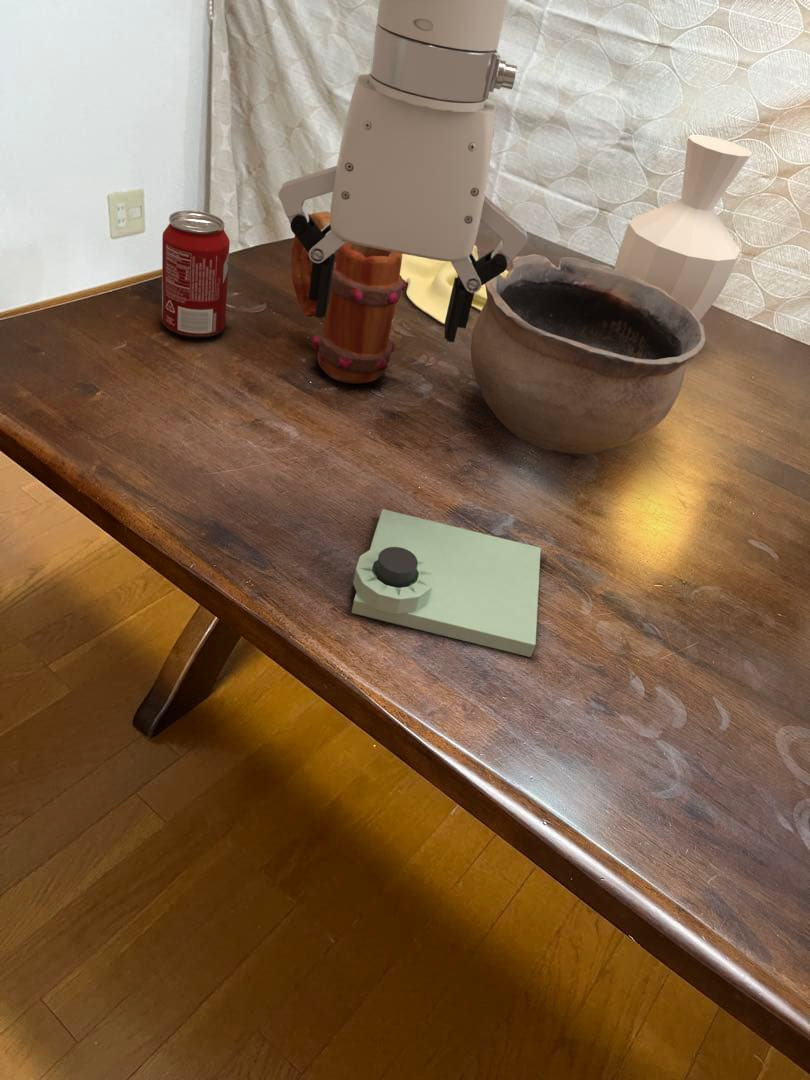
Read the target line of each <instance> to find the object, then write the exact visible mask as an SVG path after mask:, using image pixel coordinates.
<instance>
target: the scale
mask: <svg viewBox="0 0 810 1080" xmlns="http://www.w3.org/2000/svg"><path fill="white" fill-rule="evenodd" d="M389 547H400V548H404V549H407V550H409V551H410V552H412V553H413V554H414V555H415V556H416V558H417V561H418V565H417V569H416V573H415V577H414V580H413V582H412V583H411V584H410V585H409V586H407V587H402V588H396V587H392V586H388V585H385V584H383V583H382V582H381V581H379V580H378V578H377V577H376V573H375V571H376V566H377V561H378V557H379V554H380V552H381V551H382V550H384V549H386V548H389ZM541 551H542V548H541V547H539V546H535V545H532V544H527V543H524V542H523V543H522V542H520V541H519V542H518V541H515V540H510V539H506V538H502V537H498V536H494V535H490V534H486V533H482V532H478V531H473V530H470V529H466V528H462V527H458V526H453V525H450V524H445V523H441V522H437V521H433V520H429V519H426V518H422V517H416V516H412V515H408V514H405V513H401V512H396V511H392V510H388V509H384V508H382V509H381V512H380V515H379V517H378V521H377V524H376V528H375V529H374V534H373V537H372V540H371V544H370V547H369V550H367V551H365V552H364V553H362V554H361V555H360V556H359V557H358V559H357V564H356V566H355V571H354V576H353V580H352V585H353V587H354V590H355V591H356V592H355V596H354V599H353V603H352V608H351V614H354V615H358V616H361V617H366V618H371V619H373V620H378V621H382V622H385V623H390V624H394V625H399V626H402V627H406V628H411V629H414V630H417V631H423V632H428V633H431V634H434V635H439V636H443V637H448V638H450V639H451V638H452V639H455V640H459V641H464V642H467V643H471V644H475V645H480V646H483V647H488V648H492V649H496V650H500V651H504V652H508V653H512V654H515V655H521V656H524V657H528V658H531V657H532V655H533V652H534V651H535V648H536V644H537V643H536V642H537V626H538V624H537V623H538V606H539V605H538V604H539V590H540V589H539V586H540V585H539V584H540V567H541Z"/></svg>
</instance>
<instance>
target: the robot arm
mask: <svg viewBox="0 0 810 1080" xmlns="http://www.w3.org/2000/svg"><path fill="white" fill-rule="evenodd" d="M508 2H509V0H379V3H378V11H377V17H376V25H375V30H374V31H375V32H374V40H373V41H374V42H373V47H372V54H371V60H370V67H369V73H365V74H360V75H358V76H357V80H356V83H355V85H354V88H353V92H352V94H351V98H350V101H349V107H348V108H347V109H348V110H347V113H346V117H345V123H344V128H343V131H342V136H341V142H340V147H339V152H338V158H337V164H336V165H335V166H332V167H329V168H326V169H322V170H319V171H316V172H313V173H310V174H307V175H303V176H299V177H297V178H294V179H290V180H288V181H285V182H284V183H282V185H281V186H280V189H279V190H278V197H279V199H280V202H281V206H282V207H283V210H284V213H285V216H286V218H287V219H288V222H289V224H290V226H289V227H290V230H291V232H292V233H293V235H294V237H295V236H296V237H297V238H298V240H299V241H300V242H301V244H302V245H303V246H304V248H305V249H306V250H307V252H308V253H309V258H310V260H311V261H312V262H313V264H312V272H311V281H310V289H309V299H310V300H315V301H317V307H316V315H314V317H315V318H320V319H323V318H326V313H327V308H328V304H329V299H330V292H331V284H332V277H333V269H334V262H335V254H333V253H334V252H335V251H336V250H338V249H339V248H340V247H341V246H342V245H344V244H345V243H346V242H349V243H353V244H357V245H361V246H366V247H371V248H376V249H381V250H386V251H391V252H396V253H402V254H407V255H412V256H418V257H423V258H428V259H434V260H440V261H447V262H451V263H452V265H453V267H454V269H455V270H456V272H457V274H458V278H455V279H454V284H453V288H452V293H451V297H450V302H449V306H448V310H447V315H446V319H445V324H444V340H446V342H449V343H454V342H455V340H456V336H457V332H458V328H459V329H467V325H468V322H469V321H468V320H469V316H470V314H471V313H470V312H471V308H472V306H471V305H472V301H473V297H474V293H475V292H477V291H479V290H480V288H481V286H482V285H484V284H485V283H487V282H488V281H490V280H492V279H493V278H495V277H496V276H498V275H500V274H501V273H503V272H504V271H505V270H507V268H508V266H509V265H510V264H511V263H512V261H513V260H514V258H515V257H518V255H519V254H520V253H521V252H522V250H523V249H524V248H525V247H526V246H527V245H528V244H529V243H528V242H529V238H528V233H527V230H526V229H525V228H524V227H523V226H521V225H520V224H519V223H518V222H517V221H515V220H514V219H513V218H512V217H510V216H509V215H508V214H507V213H506V212H505V211H504V210H503V209H501V208H500V207H499V206H498V205H497V204H496V203H494V202H493V201H492V200H490V199H489V198H488V197H487V195H486V192H487V185H488V179H489V172H490V166H491V153H492V146H493V139H494V133H495V120H496V119H495V117H496V115H495V114H496V104H495V103H494V102H493V101H491V100H489V94H490V93H494V91H495V89H496V90H501V88H504V89H508V90H512V89H513V87H514V84H515V79H516V76H517V69H518V66H517V65H513V64H509V63H507V62H506V60H503V59H502V60H501V55H499V54H498V48H499V44H500V39H501V34H502V30H503V25H504V21H505V16H506V12H507V7H508ZM330 193H331V203H330V212H329V213H330V223H329V224H328V225H327V226H325V227H324V228H323V229H322V230H320V229H319V227H318V226H317V225H316V223H315V222H314V221H313V219H312V218H311V217H310V213H308V211H307V208H306V204H305V201H307V200H310V199H314V198H316V197H319V196H322V195H327V194H330ZM481 223H482V224H483V225H485V226H486V227H487V228H488V229H489V230H491V231H492V232H493V233H494V234H496V236H498V237H499V238H500V239H501V241H500V242H499V243H498V244H497V246H496V247H495V248H494V249H492V250H491V251H490V252H488V253H486V254H485V255H483V256H481V257H480V258H478V260H477V261H476V259H475V257H474V255H473V253H472V250H473V248H474V245H476V241H477V237H478V233H479V229H480V224H481Z"/></svg>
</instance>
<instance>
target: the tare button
mask: <svg viewBox="0 0 810 1080" xmlns="http://www.w3.org/2000/svg"><path fill="white" fill-rule="evenodd" d="M417 565H418V561H417V558H416V556H415V555H414V554H413V553H412V552H410V551H409V550H407V549H404V548H400V547H389V548H386V549H384V550H382V551H381V552H380V554H379V557H378V561H377V566H376V571H375V573H376V577H377V578H378V580H379V581H381V582H382V583H383V584H385V585H388V586H392V587H396V588H402V587H407V586H409V585H410V584H411V583H412V582H413V580H414V577H415V573H416V569H417Z"/></svg>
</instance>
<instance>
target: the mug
mask: <svg viewBox="0 0 810 1080" xmlns="http://www.w3.org/2000/svg"><path fill="white" fill-rule="evenodd" d="M309 215H310V217H311V218H312V219H313V221H314V222H315V223H316V225H317V226H318V227H319V229H320V230H322V229H323V228H324V227H325V226H327V225H328V224H329V223H330V212H329V211H320V212H314V213H309ZM293 238H294V239H293V242H292V246H291V259H290V265H291V267H290V269H291V278H292V284H293V288H294V291H295V295H296V298H297V301H298V303H299V305H300V307H301V310H302V312H303V314H304V315H305V316H306V317H307V318H309V317H315V315H316V307H317V301H315V300H310V299H309V289H310V281H311V272H312V264H313V262H312V261H311V260H310V258H309V253H308V252H307V250H306V249H305V248H304V246H303V245H302V244H301V242H300V241H299V240H298V238H297V237H296V236H295V235H294V237H293ZM333 254H335V262H334V269H333V277H332V284H331V292H330V299H329V304H328V308H327V312H326V316H325V317H324V318H325V319H324V322H322V324H320V326H319V329H318V331H317V335H315V336H314V337H312V338H311V345H312V347H313V348H314V349H316V350H317V362H318V365H319V367H320V368H321V369H322V371H323V372H324V374H326V375H327V376H328V377H329V378H331V379H333V380H335V381H338V382H341V383H344V384H350V385H351V384H366V383H367V384H368V383H372V382H374V381H375V380H378V379H379V378H380V377H382V375H383V371H385V370H386V369H388V364H389V362H390V358H391V354H392V353H393V352H394V351H395V348H396V346H395V344H394V342H392V341H391V339H390V334H391V329H392V323H393V320H394V317H395V312H396V305H397V303H398V302H399V300H400V299H401V296H402V293H403V292H402V291H404V290H405V288H406V287H407V283H406V282H405V280H404V279H402V277H401V276H400V269H401V263H402V253H396V252H391V251H386V250H381V249H376V248H371V247H366V246H361V245H357V244H353V243H349V242H346V243H345V244H344V245H342V246H341V247H340V248H339V249H338V250H336V251H335V252H334V253H333Z"/></svg>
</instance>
